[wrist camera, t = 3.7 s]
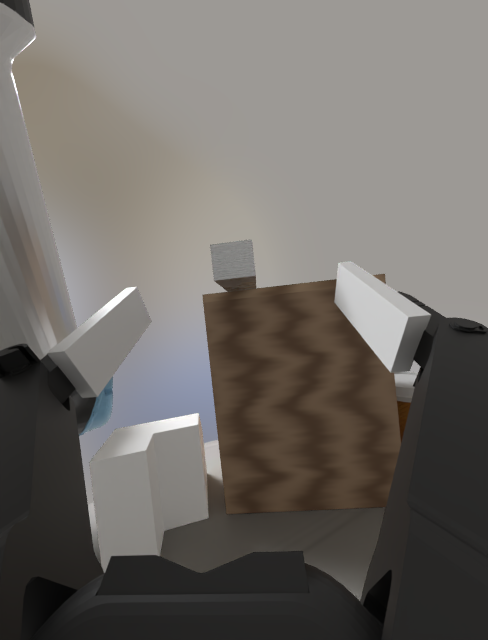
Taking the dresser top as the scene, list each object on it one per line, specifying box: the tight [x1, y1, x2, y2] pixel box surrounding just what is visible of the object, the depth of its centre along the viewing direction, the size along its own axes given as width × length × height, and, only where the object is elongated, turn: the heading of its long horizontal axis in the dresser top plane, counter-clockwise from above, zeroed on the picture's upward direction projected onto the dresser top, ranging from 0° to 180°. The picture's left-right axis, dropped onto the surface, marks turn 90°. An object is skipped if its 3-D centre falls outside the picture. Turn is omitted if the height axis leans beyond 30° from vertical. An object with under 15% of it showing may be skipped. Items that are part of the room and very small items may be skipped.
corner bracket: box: [89, 413, 209, 573], centre depth 28 cm, size 11×11×12 cm
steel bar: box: [210, 240, 256, 292], centre depth 29 cm, size 4×22×3 cm, turn 176°
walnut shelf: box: [203, 274, 401, 514], centre depth 32 cm, size 22×12×28 cm, turn 86°
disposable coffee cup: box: [394, 372, 418, 442], centre depth 34 cm, size 10×10×12 cm
